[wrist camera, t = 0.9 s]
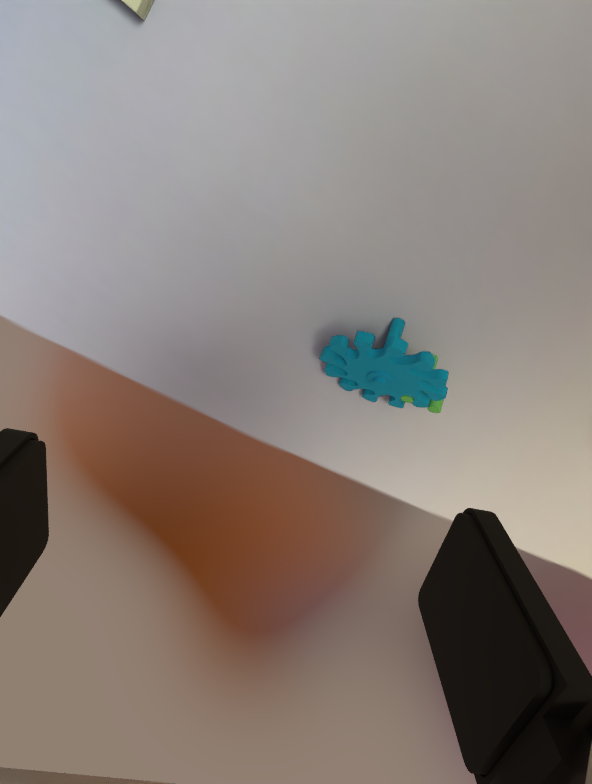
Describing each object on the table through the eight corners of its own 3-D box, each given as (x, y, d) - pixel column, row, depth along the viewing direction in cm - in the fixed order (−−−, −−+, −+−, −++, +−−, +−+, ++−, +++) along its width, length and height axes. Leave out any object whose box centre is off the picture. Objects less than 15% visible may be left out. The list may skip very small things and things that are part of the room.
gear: (294, 364, 37) (374, 334, 28) (317, 306, 39) (399, 261, 30) (389, 425, 41) (484, 414, 32) (406, 369, 43) (499, 346, 35)
